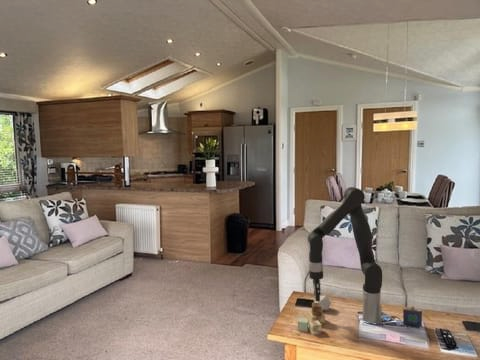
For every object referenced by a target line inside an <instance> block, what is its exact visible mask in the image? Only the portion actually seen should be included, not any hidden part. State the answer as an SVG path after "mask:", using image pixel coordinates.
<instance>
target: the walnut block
mask: <svg viewBox="0 0 480 360" xmlns="http://www.w3.org/2000/svg"><path fill="white" fill-rule="evenodd" d="M311 311H312V315H319V316H322V312H323V311H322V306H321V303H315V302H311Z"/></svg>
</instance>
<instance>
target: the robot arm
mask: <svg viewBox="0 0 480 360" xmlns="http://www.w3.org/2000/svg"><path fill="white" fill-rule="evenodd" d="M365 197H366V196H365V193H364V191H363V190H362V189H360V188H357V187H354V186H353V187H352V186H351V187H347V188H346V189H345V191H344V194H343V198H344V201H343V202H342V203H341V205H339V206H338V207H337V208H336V209H335V210H333V211H332V212H331V213H329V214H328V215H327V216H326V217H325V218H324V219H323V221H321V222H320V224H319V225H318V226H317V227H315V228H314V229H313V230H312V231H310V233H309V234H308V236H307V241H308V243H309V252H308V253H309V254H308V259H309V261H308V271H309V272H308V273H309V274H308V275H309V276H308V277H309V279H311V280H312V286H313V294H314V296H315V301H320V296H321V294H322V293H321V285H322V284H321V280H322V279H324V262H323V247H324V240H323V238H324V237H325V236H326V235H330V234H331V233H332V232H333V231H334V229H335V228H336V227H337V226H339V224H340V223H341V222H342V221H343V220H344V218H346V217H347V216H348V215H349V217H350V218H349V219H350V223H351V228H352V229H351V230H352V232H353V233H352V234H353V237H354V242H355V244H356V248H357V250H358V254H359V263H360V269H361V273H362V274H363V275H364V283H363V284H362V321H363V320H364V321H366V322H369V323H378V322H381V323H382V321H383V320H382V319H383V318H382V312H383V310H382V309H383V307H382V305H381V296H382V295H381V293H382V292H381V290H382V287H383V270H382V267H381V266H380V265H379V264H377V261H376V259H375V256H374V253H373V234H372V229H371V225H370V223H369V221H368V219H367V217H366V215H365V212H364V210H363V207H362V203H364V201H365ZM364 321H363V322H364ZM366 322H365V323H366Z"/></svg>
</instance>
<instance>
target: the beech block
mask: <svg viewBox="0 0 480 360" xmlns="http://www.w3.org/2000/svg"><path fill="white" fill-rule="evenodd" d="M308 330H309V332H310V334H311V336H315V334H317V335H322V325H321V324H320V322H319V321H318V320H317V321H310V320H308Z"/></svg>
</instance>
